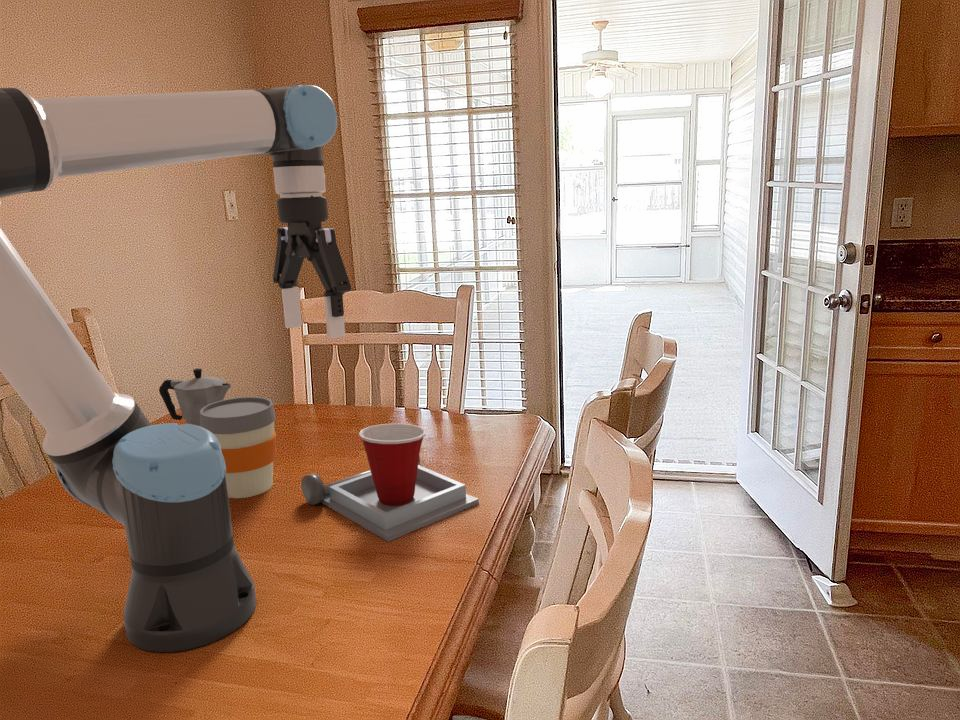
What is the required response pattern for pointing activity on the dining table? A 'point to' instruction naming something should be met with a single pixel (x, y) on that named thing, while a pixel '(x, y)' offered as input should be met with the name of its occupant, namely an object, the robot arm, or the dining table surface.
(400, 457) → the plastic cup
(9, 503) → the dining table surface
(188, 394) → the coffeepot
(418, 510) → the tray
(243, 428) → the reusable coffee cup
